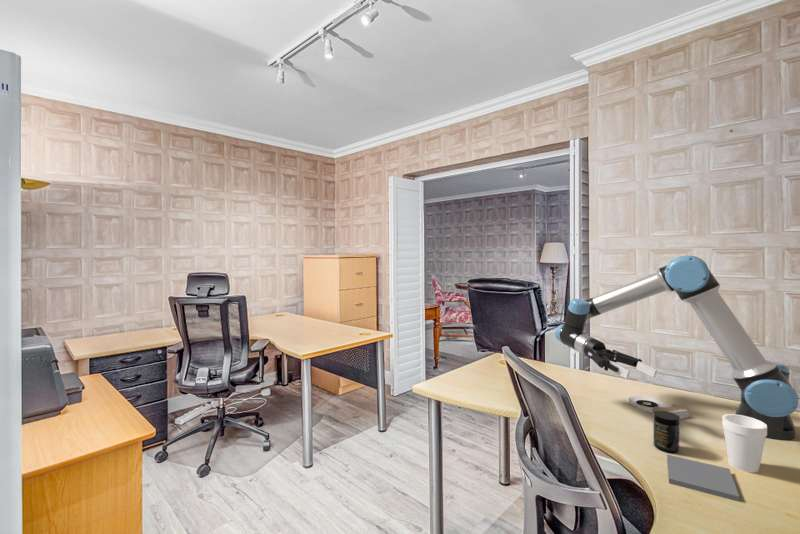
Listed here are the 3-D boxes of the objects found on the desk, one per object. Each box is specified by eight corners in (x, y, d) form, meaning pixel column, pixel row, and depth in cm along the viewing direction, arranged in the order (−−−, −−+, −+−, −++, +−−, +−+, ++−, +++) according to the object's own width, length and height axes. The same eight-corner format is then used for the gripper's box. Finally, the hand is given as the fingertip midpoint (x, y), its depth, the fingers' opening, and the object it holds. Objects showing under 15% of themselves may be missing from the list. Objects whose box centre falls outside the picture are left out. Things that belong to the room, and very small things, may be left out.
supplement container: (679, 456, 113) (679, 422, 112) (652, 449, 117) (652, 416, 116) (679, 446, 118) (680, 414, 118) (653, 440, 122) (654, 409, 122)
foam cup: (754, 479, 101) (755, 431, 100) (714, 462, 109) (715, 417, 109) (773, 470, 105) (774, 424, 104) (733, 454, 113) (733, 411, 113)
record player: (665, 413, 136) (621, 393, 156) (665, 421, 136) (621, 401, 156) (691, 409, 139) (645, 391, 158) (691, 418, 139) (645, 398, 158)
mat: (729, 473, 104) (729, 468, 104) (739, 501, 92) (739, 496, 92) (667, 458, 112) (667, 454, 112) (668, 482, 100) (668, 478, 100)
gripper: (610, 356, 151) (662, 383, 132) (563, 356, 142) (612, 386, 122) (615, 338, 150) (669, 363, 131) (568, 337, 140) (619, 364, 121)
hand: (642, 374), depth 127 cm, fingers open, 13 cm apart
